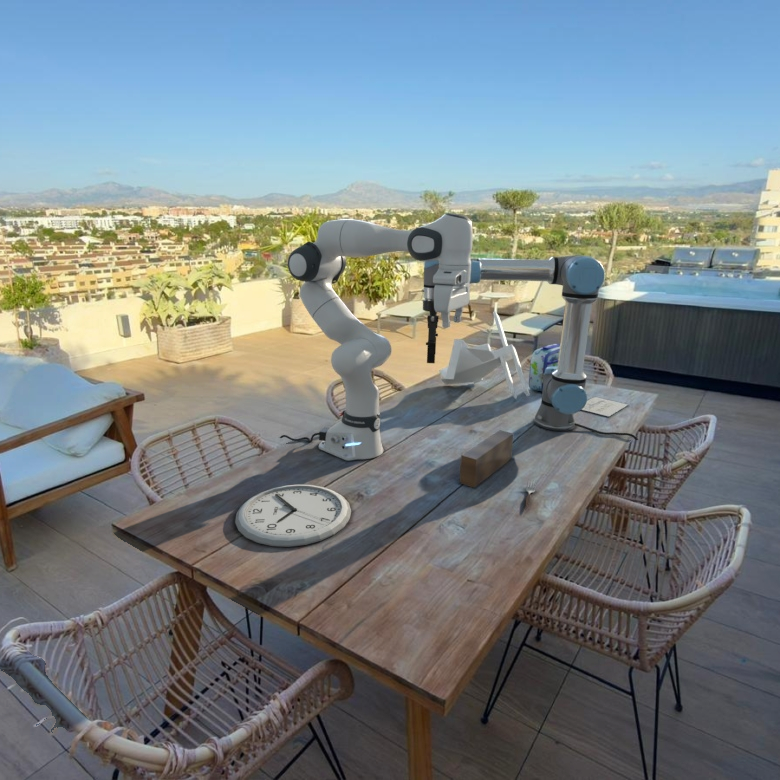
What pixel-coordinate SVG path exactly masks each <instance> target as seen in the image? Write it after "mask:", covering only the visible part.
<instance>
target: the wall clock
mask: <svg viewBox="0 0 780 780" xmlns="http://www.w3.org/2000/svg"><path fill="white" fill-rule="evenodd" d="M351 514H352V509H351V504H350V503H349V501H348V500H347V499H346V498H345V497H344V496H343V495H341V494H340V493H338V492H337V491H335V490H333V489H330V488H327V487H323V486H318V485H313V484H290V485H289V484H288V485H282V486H277V487H272V488H269V489H267V490H264V491H261V492H259V493H257V494H255V495H254V496H252V497H250V498H248V499H247V500H246V501H245V502H244V503H243V504H242V505H240V507H239V509H238V510H237V511H236V514H235V520H234V524H235V526H236V529H237V531H238V532H239V533H240V534H241V535H242V536H243V537H245V538H246V539H248V540H250V541H252V542H254V543H257V544H261V545H266V546H270V547H283V548H284V547H285V548H286V547H287V548H289V547H298V546H306V545H311V544H313V543H319V542H322V541H324V540H327V539H328V538H330V537H332V536H334V535H336V534H337V533H339V532H340V531H341V530H343V529H345V526H346V525H347V524H348V522H350V518H351Z"/></svg>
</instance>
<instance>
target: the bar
mask: <svg viewBox="0 0 780 780" xmlns="http://www.w3.org/2000/svg"><path fill="white" fill-rule="evenodd" d="M513 445H514V433H513V432H509V431H505V430H501V429H499V430H497V431H496V432H494V433H493V434H491V435H490V436H489V437H487V438H485V439H484V440H482V441H481V442H479V443H478V444H476V445H474V446H473V447H472V448H470V449H469V450H467V451H466V452H464V453H462V454H461V456H460V470H459V471H460V472H459V484H461V485H464V486H467V487H470V488H473V489H475V488H476V487H477V486H479V485H480V484H481V483H483V482H484V481H485V480H486V479H488V478H489V477H490V476H492V474H494V473H496V472H497V471H498V470H499V469H500V468H502V467H503V466H504V465H506V464H507V463H508V462H509V461H511V460H512V455H513Z"/></svg>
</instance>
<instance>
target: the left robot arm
mask: <svg viewBox="0 0 780 780" xmlns="http://www.w3.org/2000/svg"><path fill="white" fill-rule="evenodd" d="M473 231H474V229H473V222H472V220H471V218H469V217H468V216H467V215H464V214H458V213H453V212H447V213H444V214H443V215H442V216H441V217H439V218H438V219H436V220H435V221H432V222H430V223H428V224H425V225H424V224H423V225H421V226H418V227H415V228H414V229H412V230H411V229H410V230H409V229H408V230H405V229H397V228H392V227H387V226H384V225H381V224H377V223H373V222H370V221H365V220H362V219H361V220H359V219H349V218H347V219H345V218H344V219H334V220H333V219H332V220H328V221H325V222H323V223H322V224H321V225H320V227H319V228H318V229H317V233H316V234H317V236H316V240H315V241H314V242H312V241H307V242H305V243H304V244H302V245H301V246H299V247H297V248H295V249H294V250H292V251H291V253H289V255H288V258H287V269H288V272H289V274H290V275H291V276H292V278H294V279H295V280H296V281H300V282H304V283H303V284H302V285H301V287H300V290H299V298H300V300H301V302H302V304H303V306H304V308H305V309H306V311H307V313H308V314H309V316H310V318H312V320H313V321H314V322H315V324H316V325H317V326H318V327H319V329H320V330H321V331H322V332H323V334H324V335H325V336H326V338H328V339H329V340H332V341H334V342H337V343H338V344H340V345H339V346H337V347H336V348H335V349H334V350H333V351H332V353H331V357H330V363H331V367H332V369H333V370H334V372H335V373H336V375H338V376H340V378H341V381H342V383H343V388H344V393H345V394H344V395H345V409H344V410H343V411H342V412H339V413H338V418H340V417H341V419H340V420H339V421H338V422H336V423H334V424H333V425H332V426H330V427H326V426H325V427H323V428H322V429H320V430H319V432H315V433H313V434H312V435H311V437H308V436H303V437H300V438H292V437H290V436H289V435H287V434H281V436H279V439H282V438H286V439H288V440H290V441H293V442H299V441H302V440H303V441H304V440H307V441H308V442H309V443H312V442H313V440H314V438H315V437H316V436H318V439H319V441H320V443H319V444H318V450H321V451H323V452H326V453H328V454H330V455H332V456H335V457H337V458H340V459H342V460H344V461H347V462H351V461H355V460H371V459H373V458H377V457H379V456H381V455H382V454H383V453H384V448H383V443H382V438H381V430H380V429H381V410H380V389H379V387H378V386H377V384H375V383H374V381H373V377H372V370H374V369H377V368H379V367H381V366H383V364H385V363H386V362H387V361H388V360H389V359H390V357H391V355H392V346H391V343H390V341H389V340H388V339H387V337H386V336H384V335H381V334H379V333H376V331H373V330H372V329H371V328H369V327H368V326H367V325H366V324H364V323H363V322H361V320H359V319H358V318H357V317H356V316H355V315H354V314H353V312H351V310H350V309H349V308H348V306H347V305H346V304H345V302H344V301H342V299H341V298H340V296H339V294H337V293H336V292H335V290H334V289H333V286H332V284H336V283H337V282H338V281H339V280H340V279H339V278H340V276H342V274H343V273H344V271H345V269H346V266H347V258H367V257H373V256H377V255H382V254H388V253H393V252H394V253H395V252H404V253H405V252H406V253H409V255H410V256H411V258H413V259H414V260H416V261H418V262H424V263H425V261H437V260H439V269H438V271H437V272H436V274H435V275H434V276H433V283H434V284H436V285H435V287H434V309H435V311H436V312H437V314H438V313H440V317H441V321H442V322H441V326H442V328H443V329H448V328H450V327H451V320H450V315H451V312H453V311H454V316H453V323H457V324H458V323H460V322H461V321H462V315H463V313H464V307H465V306H468V305H469V303H470V298H471V296H470V295H471V293H470V291H471V289H470V288H471V284H470V283H469V282H470V275H471V260H470V259H471V253H472V250H473V242H474V241H473V239H474V238H473V237H474V233H473Z"/></svg>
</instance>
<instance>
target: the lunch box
mask: <svg viewBox="0 0 780 780" xmlns="http://www.w3.org/2000/svg"><path fill="white" fill-rule="evenodd" d="M559 352H560V343H559V344H558V343H553V344H548V345H546V346H542V347H540V348H537V349H535V350H534V351H533V352H532V354H531V357H530V362H529V374H528V375H529V376H528V387H529V388H528V389H530V390H534V391H539V392H541V393H542V392H543V382H544V373H545V369H546V368H547V367H553V366H557V367H558V360H559Z"/></svg>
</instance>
